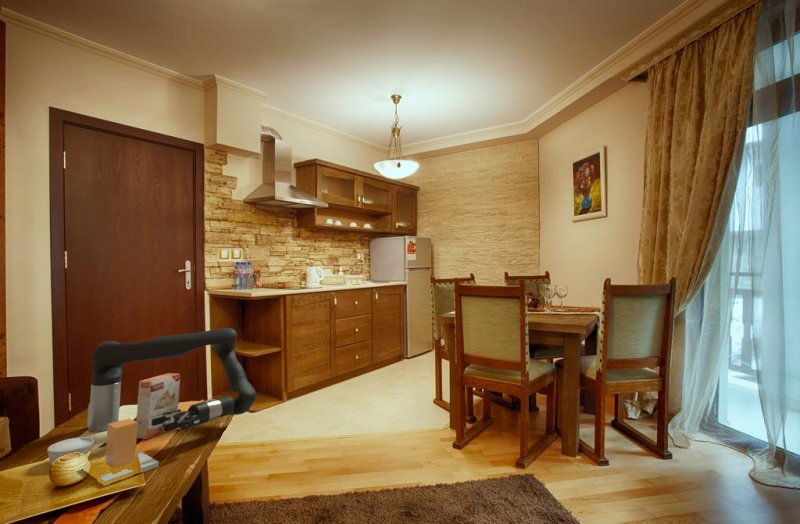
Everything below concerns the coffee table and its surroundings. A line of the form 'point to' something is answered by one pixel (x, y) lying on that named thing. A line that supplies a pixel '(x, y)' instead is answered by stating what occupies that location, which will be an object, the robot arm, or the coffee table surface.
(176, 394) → the cracker box
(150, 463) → the post stand
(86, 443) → the ramekin
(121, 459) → the tan upright sponge
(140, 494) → the coffee table surface
